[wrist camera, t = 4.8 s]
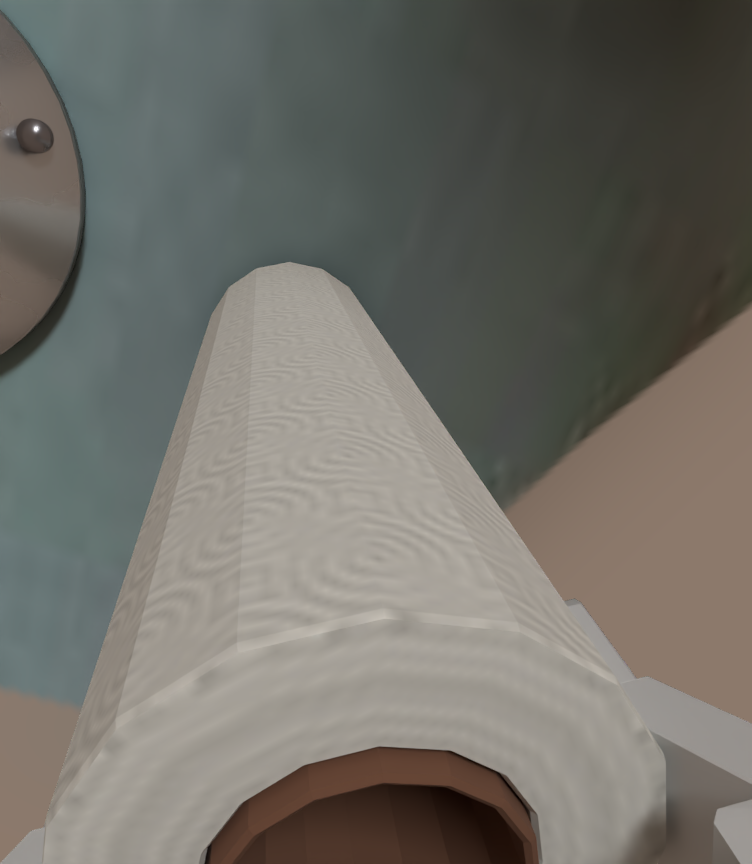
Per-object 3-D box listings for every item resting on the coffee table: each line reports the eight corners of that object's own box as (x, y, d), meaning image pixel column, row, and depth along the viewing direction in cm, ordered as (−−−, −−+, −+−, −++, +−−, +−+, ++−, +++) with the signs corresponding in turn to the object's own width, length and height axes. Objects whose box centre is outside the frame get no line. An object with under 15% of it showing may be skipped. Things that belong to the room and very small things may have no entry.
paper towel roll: (288, 224, 24) (396, 485, 5) (402, 342, 27) (796, 853, 7) (151, 365, 26) (-221, 1053, 6) (271, 467, 28) (294, 1217, 8)
